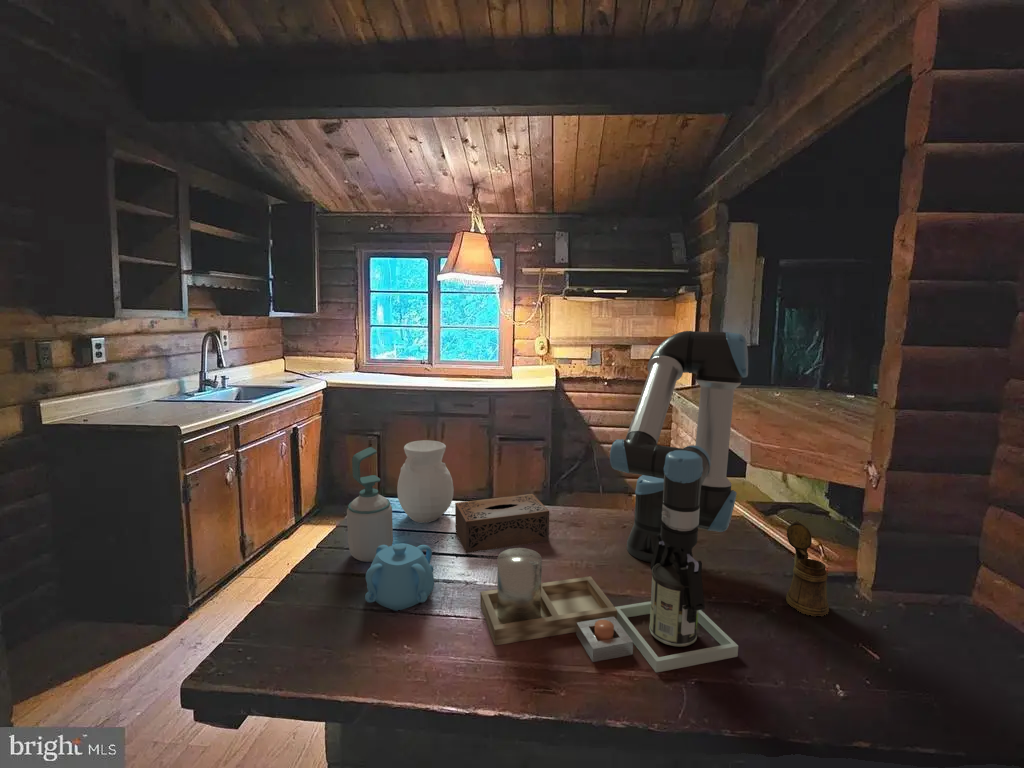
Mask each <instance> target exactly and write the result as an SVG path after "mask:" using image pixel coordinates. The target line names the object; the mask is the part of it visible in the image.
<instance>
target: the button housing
mask: <svg viewBox="0 0 1024 768" xmlns="http://www.w3.org/2000/svg"><path fill="white" fill-rule="evenodd" d="M598 620H607V621H610V622H611V623H612V624H613V625H614V635H613V639H608V640H602V641H598V640H597V639H596V637H595V636H594V635H595V623H596V622H597V621H598ZM575 635H576V637H577V639H578V640H579V642H580V644H581V645H582V647H583V648H584V650H585V652H586V654H587V655H588V657H589V658H590V661H591V662H592V663H595V662H596V663H597V662H601V661H605V660H611V659H617V658H622V657H623V658H624V657H627V656H633V652H634V651H633V650H634V643H633V641H632V640H631V638H630V637H629V636H628V634H627V633H626V632H625V630H624V629H623V628H622V626H621V625H620V624H619V622H618V621H617V620H616V618H615V617H608V618H601V619H595V620H589V621H583V622H577V624H576V632H575Z"/></svg>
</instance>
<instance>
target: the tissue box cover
mask: <svg viewBox="0 0 1024 768" xmlns="http://www.w3.org/2000/svg"><path fill="white" fill-rule="evenodd" d="M454 509H455V518H454V521H455V524H454V525H455V527H454V528H455V533H456V536H457V538H458V540H459V543H460V544H461V545H462V548H463V549H464V553H465V554H470V553H478V552H482V551H485V552H486V551H491V550H496V549H503V548H504V549H505V548H509V547H510V548H513V547H518V546H525V545H531V544H537V543H545V542H549V541H550V510H549V509H548V508H547V507H546V506H545V505H544V504H543V503H542V502H541V500H539V499H538V497H537V496H536V495H534V493H528V494H519V495H510V496H502V497H493V498H483V499H477V500H469V501H458V502H455V503H454Z"/></svg>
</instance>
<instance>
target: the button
mask: <svg viewBox="0 0 1024 768" xmlns="http://www.w3.org/2000/svg"><path fill="white" fill-rule="evenodd" d="M613 635H614V625H613V624H612V623H611V622H610V621H607V620H598V621H597V622H596V623H595V635H594V636H595V637H596V639H597V640H598V641H602V640H608V639H613Z"/></svg>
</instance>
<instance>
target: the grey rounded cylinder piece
mask: <svg viewBox="0 0 1024 768" xmlns="http://www.w3.org/2000/svg"><path fill="white" fill-rule="evenodd" d="M542 561H543V559H542V556H541V554H540V553H538V551H535V550H533V549H530V548H525V547H514V548H513V547H511V548H508V549H505V550H503V551H501V552H500V553H499V554H498V556H497V578H496V579H497V583H496V584H497V588H496V589H497V617H498V619H499V621H500V622H501V623H503V624H506V623H513V622H519V621H525V620H532V619H538V618H540V617H541V583H542V568H543V567H542V566H543V564H542V563H543V562H542Z"/></svg>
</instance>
